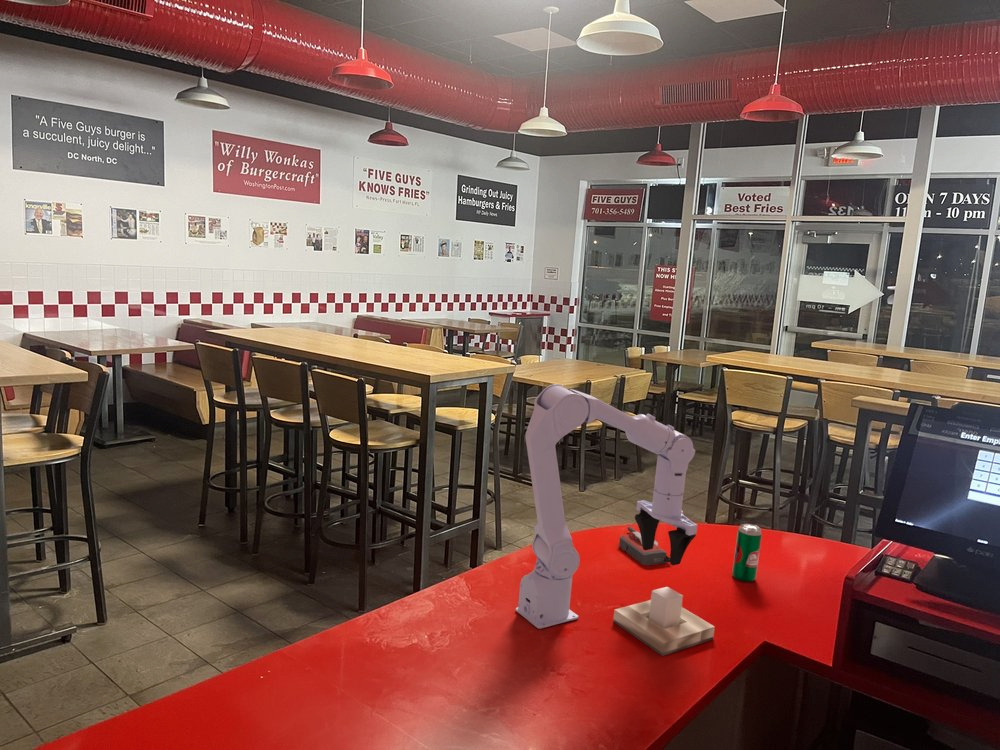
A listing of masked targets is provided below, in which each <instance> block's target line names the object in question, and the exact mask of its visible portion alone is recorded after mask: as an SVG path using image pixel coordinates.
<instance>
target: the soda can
mask: <svg viewBox="0 0 1000 750" xmlns="http://www.w3.org/2000/svg"><path fill="white" fill-rule="evenodd" d="M761 531H762V529H761V527H759V526H758V525H756V524H752V523H751V524H750V523H740V525H739V528H738V529H737V534H736V543H735V550H734V557H733V565H732V572H731V575H732V576H733V578H734V579H736V580H737V581H740V582H744V583H751V582H752V583H753V582H754V581H755V580H756V578H757V574H758V573H757V572H758V565H759V557H760V550H761V543H762V536H763V534H762V532H761Z"/></svg>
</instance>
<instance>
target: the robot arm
mask: <svg viewBox="0 0 1000 750" xmlns="http://www.w3.org/2000/svg"><path fill="white" fill-rule="evenodd" d="M533 403H534V405H533V406H534V408H533V412H532V415H531V416H530V420H529V423H528V425H527V429H526V431H525V443H526V451H527V457H528V465H529V471H530V478H531V484H532V493H533V499H534V508H535V512H536V513H535V514H536V519H537V524H535V525H534V526H533V528H534V537H533V540H532V543H531V544H532V551H533V553H534V555H535V556H536V561H535V565H534V569H533V570H532V571H531V572H529V573H527V574H526V575H525V574H524V576H522V578H521V580H520V582H519V595H518V606H517V607H516V608H515V611H516V612H517V613H518V614H519V615H521V616H522V617H523V618H524V619H525V620H527V621H528V622H529V623H530V624H531V625H533V626H534V627H535V628H537V629H538V630H541V629H544V628H548V627H551V626H555V625H558V624H563V623H566V622H570V621H574V620H577V619H579V615H578V614H576V613H575V612H574V611H572V610H571V609H570V607H571V606H570V605H571V595H572V584H573V575H574V573H576V572H577V570H578V568H579V566H580V561H581V560H580V554H579V552H578V551H577V550H576V548H575V546H574V544H573V538H572V536H571V533H570V531H569V528H568V526H567V523H566V515H565V508H564V500H563V494H562V488H561V487H562V486H561V479H560V470H559V464H558V458H557V457H558V455H557V450H556V449H557V448H556V445H557V443H558V442H559V441H560V440H561V439H562V438H564V437H565V436H566V435H568V434H569V433H571V432H572V431H574V430H575V429H577V428H578V427H580V426H581V425H583V424H584V423H587V424H590V423H591V422H593V421H595V420H598V421H600V422H602V423H605V424H607V425H609V426H611V427H613V428H616V429H618V430H621V431H623V432H625V436H626V438H627V440H628V441H629V443H632V444H635V445H636V446H638V447H640V448H643V449H645V450H647V451H649V452H651V453H654V454H656V455H657V460H656V468H655V475H654V476H655V477H654V485H653V494H652V501H651V502H650V501H647V500H645V499H644V500H637V501H636V511H638V512H639V513H638V514H635V515H634V520H635V521H636V523H637V527H638V529H639V530H638V531H639V532H640V534H641V539H642V546H643V550H650V549H653V545H654V540H655V539H656V532H657V529H658V526H659V523H660V521H661V522H663V523H666V524H668V525H670V526H672V527H673V528H676V529H673V530H669V531H668V533H667V534H668V537H669V541H670V542H669V544H670V545H669V546H670V552H669V553H670V555H669V558H670V562H669V564H670V565H671V566H678V565H680V564H681V561H682V559H683V557H684V555H685V552H686V550H687V548H688V547H689V545H690V544H691V542H692V541H693V540H694V538H695V537H697V536H696V535H697V533H698V532H697V531H698V524H697V523H695V522H693V521H692V520H691V519H689V518H688V517H687V516H685V515H684V511H683V509H682V508H683V501H684V493H685V486H686V478H687V477H686V475H687V471H688V468H689V463H690V462H691V461H692V459H693V458H694V457H695V454H696V449H695V448H694V443H693V441H692V439H691V438H690V437H689V436H687V435H686V434H683V433H681V432H679V431H677V430H675V427H674V426H672V425H670V424H666V425H665V424H663V423H661V422H659V421H657V420H656V417H655V416H653V415H652V414H650V413H646V414H642V413H639V414H637V415H634V416H631V415H629V414H627V413H626V412H623V411H622V410H619V409H618V408H616V407H614V406H612V405H611V404H608V402H607V403H606V402H604V401H602V400H601V399H599V398H597V397H595V396H593V395H590V394H587V393H584V392H582V391H579V390H577V389H573V388H569V389H568V388H566V387H565V386H563V385H561V384H557V383H556V384H550V385H548V386H546V387H545V388H544V389H542V391H541V392H540V393H539V394H538V395H537V396H536V398H535V399H534V402H533ZM655 541H656V540H655Z"/></svg>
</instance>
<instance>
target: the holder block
mask: <svg viewBox="0 0 1000 750" xmlns="http://www.w3.org/2000/svg"><path fill="white" fill-rule="evenodd" d="M650 603H651V599H649V600H645V601H642V602H638V603H633V604H631V605H627V606H623V607H619V608H616V609H614V613H613V623H614V624H616V625H617V626H619V627H620V628H621V629H623V630H624V631H626V632H628V633H629V634H630V635H632V636H633V637H634V638H636V639H637V640H639V641H640V642H641V643H644V645H646V646H648V647H649V648H650V649H652V650H653V651H654V652H656V653H657V654H659V655H660V656H662V657H663V656H666V655H669V654H672V653H676V652H679V651H682V650H685V649H688V648H691V647H694V646H697V645H699V644H703V643H706V642H709V641H712V640H714V636H715V626H714V625H713V624H711V623H710V622H708V621H706V620H704V619H703V618H701V617H700V616H698V615H697V614H694V613H693V612H691V611H689V610H688V609H686V608H684V607H683V606H682V608H681V616H680V624H679V625H676V626H672V627H669V628H666V629H663V628H662V627H660V626H659V625H657V624H655V623H654V622H652V621H651V620H649V612H650Z"/></svg>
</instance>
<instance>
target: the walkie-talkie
mask: <svg viewBox="0 0 1000 750" xmlns="http://www.w3.org/2000/svg"><path fill="white" fill-rule="evenodd" d="M627 531H629V534H624V535H621V536H620V537H619V542H618V547H619V548H620V547H621V548H622V549H621V548H620V549H621V550H622V551H624V550H625V551H626V552H627V554H628V556H631V557H632V558H634V559H635V560H636V562H639V563H640V564H641V565H642V566H651V565H654V566H655V565H661V564H666V563H670V556H668V555H667V553H668V552H666V551H665V550H664V549H663V548H661V547H659V542H658V541H656V540H654V545H653V549H650V550H643V546H642V539H641V534H640V530H638V531H637V530H636V529H634V528H633V527H631V526H628V527H627ZM625 551H624V552H625ZM626 552H625V553H626Z"/></svg>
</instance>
